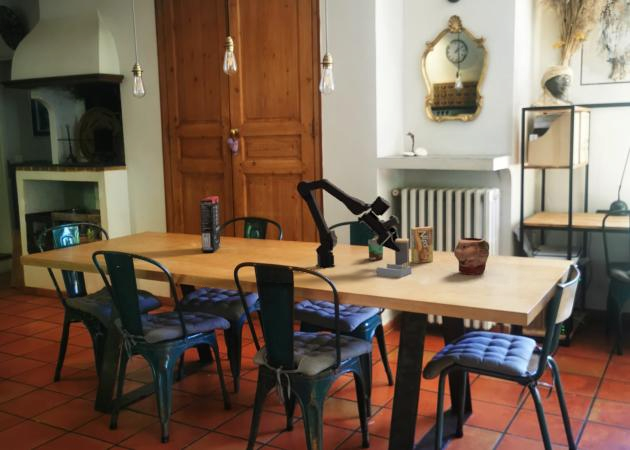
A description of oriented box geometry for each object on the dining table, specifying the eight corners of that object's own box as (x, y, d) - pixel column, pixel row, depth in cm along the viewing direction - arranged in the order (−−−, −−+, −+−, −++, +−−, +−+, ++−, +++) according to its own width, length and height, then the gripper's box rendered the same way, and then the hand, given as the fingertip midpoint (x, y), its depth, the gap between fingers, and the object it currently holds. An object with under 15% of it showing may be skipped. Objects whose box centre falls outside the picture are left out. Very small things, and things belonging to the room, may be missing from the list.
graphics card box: (208, 247, 350) (205, 196, 346) (221, 247, 350) (218, 195, 346) (201, 253, 333) (198, 199, 329) (215, 253, 333) (212, 199, 329)
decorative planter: (473, 266, 281) (473, 233, 279) (499, 269, 272) (499, 236, 270) (446, 274, 267) (446, 240, 265) (473, 278, 258) (473, 243, 256)
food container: (381, 262, 295) (381, 240, 294) (368, 261, 297) (367, 239, 296) (387, 257, 307) (387, 235, 305) (374, 256, 309) (374, 235, 307)
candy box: (429, 260, 296) (429, 226, 294) (433, 261, 292) (433, 227, 290) (411, 261, 294) (410, 227, 292) (414, 263, 290) (414, 228, 288)
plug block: (395, 269, 279) (394, 240, 277) (397, 267, 284) (397, 238, 282) (407, 269, 278) (406, 240, 276) (409, 267, 282) (408, 238, 280)
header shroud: (377, 275, 270) (376, 263, 269) (388, 270, 277) (387, 259, 276) (400, 277, 263) (400, 265, 263) (411, 273, 271) (411, 261, 270)
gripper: (383, 212, 270) (411, 239, 268) (391, 207, 288) (417, 232, 286) (365, 232, 273) (392, 258, 272) (374, 225, 291) (400, 250, 289)
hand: (401, 249), depth 280 cm, fingers open, 9 cm apart
